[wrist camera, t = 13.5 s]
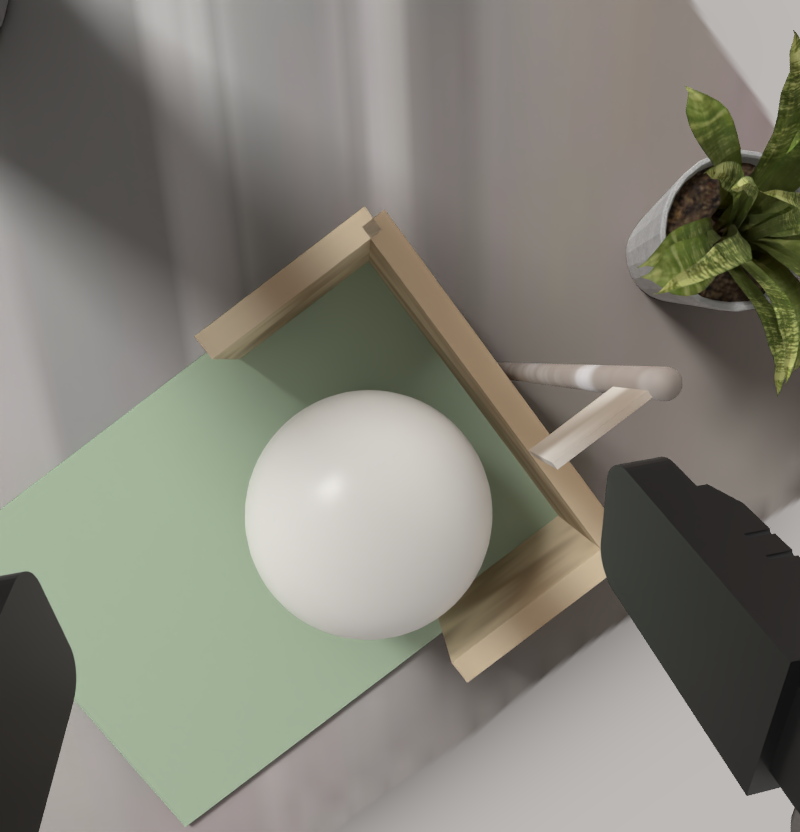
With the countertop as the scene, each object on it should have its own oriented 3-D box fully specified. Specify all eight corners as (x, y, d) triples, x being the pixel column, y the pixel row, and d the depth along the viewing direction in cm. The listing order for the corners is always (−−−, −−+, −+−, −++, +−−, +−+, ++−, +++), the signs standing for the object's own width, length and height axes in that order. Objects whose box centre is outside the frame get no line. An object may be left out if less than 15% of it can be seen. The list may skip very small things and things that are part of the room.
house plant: (609, 452, 37) (809, 528, 20) (480, 232, 35) (583, 123, 19) (830, 315, 37) (1204, 280, 20) (709, 89, 35) (1010, -142, 19)
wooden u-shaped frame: (448, 625, 37) (554, 944, 17) (225, 340, 34) (41, 315, 15) (604, 507, 36) (897, 685, 17) (389, 215, 34) (430, 18, 15)
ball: (427, 506, 21) (514, 355, 30) (157, 465, 25) (300, 343, 34) (457, 726, 26) (523, 545, 35) (230, 662, 31) (338, 514, 39)
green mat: (186, 823, 37) (185, 827, 37) (-52, 550, 35) (-56, 551, 35) (590, 517, 37) (592, 518, 36) (374, 225, 35) (375, 223, 34)
